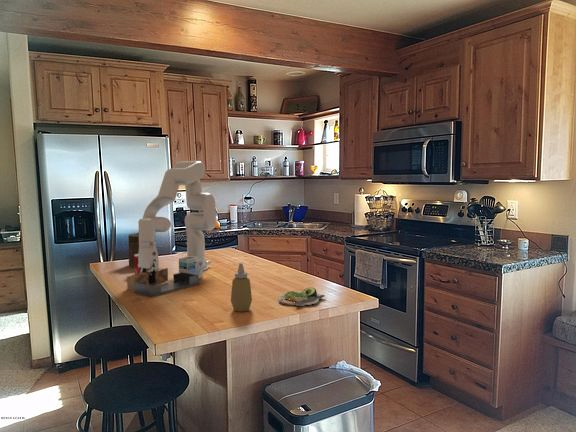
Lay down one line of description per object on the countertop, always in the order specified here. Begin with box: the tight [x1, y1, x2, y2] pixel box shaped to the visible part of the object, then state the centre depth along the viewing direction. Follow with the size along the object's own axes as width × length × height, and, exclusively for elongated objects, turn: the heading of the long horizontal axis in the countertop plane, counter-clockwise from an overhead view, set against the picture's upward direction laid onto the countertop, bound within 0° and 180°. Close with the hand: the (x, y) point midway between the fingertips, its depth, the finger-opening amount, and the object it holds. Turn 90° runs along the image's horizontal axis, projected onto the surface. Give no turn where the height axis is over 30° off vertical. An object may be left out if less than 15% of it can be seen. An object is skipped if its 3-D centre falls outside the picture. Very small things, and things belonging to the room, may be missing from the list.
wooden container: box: [127, 228, 139, 269], centre depth 248 cm, size 15×15×22 cm
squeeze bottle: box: [230, 262, 253, 313], centre depth 162 cm, size 8×8×18 cm
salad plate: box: [277, 286, 326, 307], centre depth 174 cm, size 19×18×5 cm
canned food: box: [134, 254, 149, 274], centre depth 222 cm, size 8×8×11 cm
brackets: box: [133, 272, 200, 298], centre depth 195 cm, size 27×12×4 cm, turn 144°
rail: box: [126, 266, 169, 291], centre depth 203 cm, size 22×4×6 cm, turn 155°
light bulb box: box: [178, 255, 204, 279], centre depth 215 cm, size 11×7×11 cm, turn 148°
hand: (148, 281), depth 203 cm, fingers closed on rail, 5 cm apart
